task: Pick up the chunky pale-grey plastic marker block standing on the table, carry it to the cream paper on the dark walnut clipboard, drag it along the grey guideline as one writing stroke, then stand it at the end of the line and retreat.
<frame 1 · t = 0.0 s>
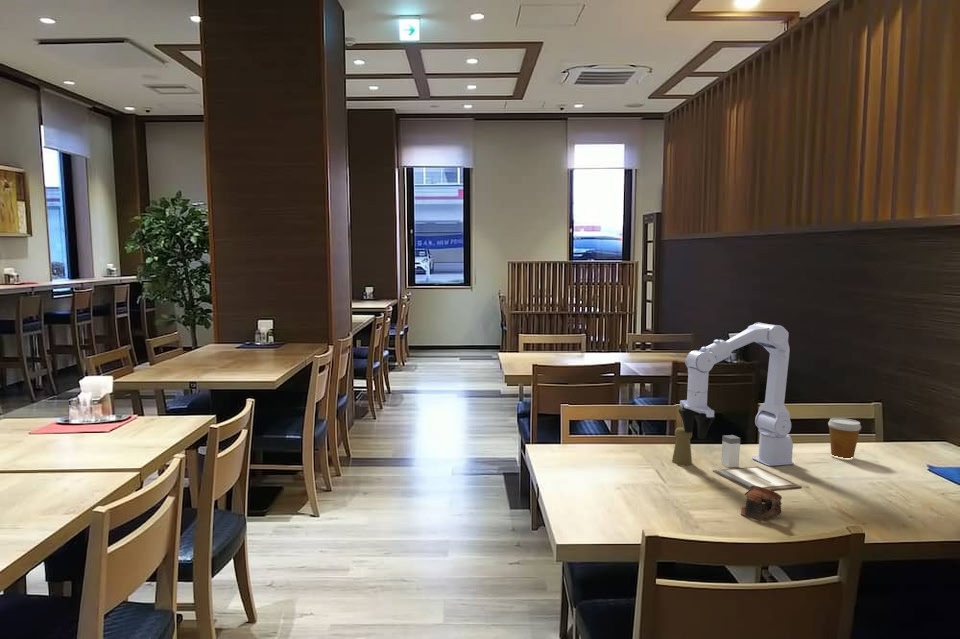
hand: (695, 435, 199), 10 cm above the table, fingers open, 6 cm apart
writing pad: (755, 479, 191), on the table
marker: (729, 465, 203), on the table
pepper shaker: (681, 463, 206), on the table, touching gripper
disposable coffee cup: (842, 457, 214), on the table
pottery mug: (762, 517, 163), on the table
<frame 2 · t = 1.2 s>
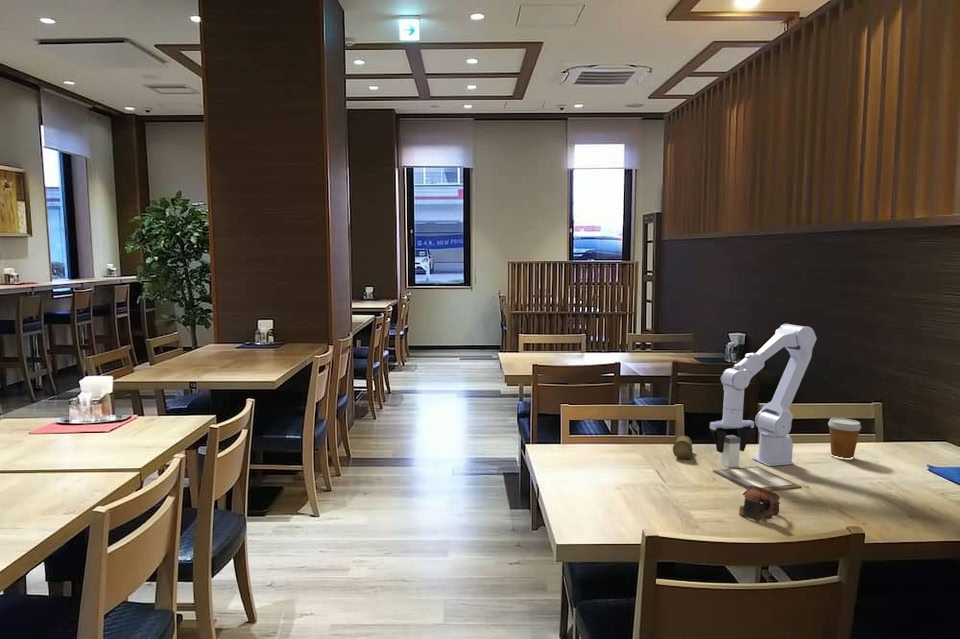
hand: (730, 451, 203), 4 cm above the table, fingers open, 7 cm apart
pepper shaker: (682, 450, 208), point 3 cm above the table
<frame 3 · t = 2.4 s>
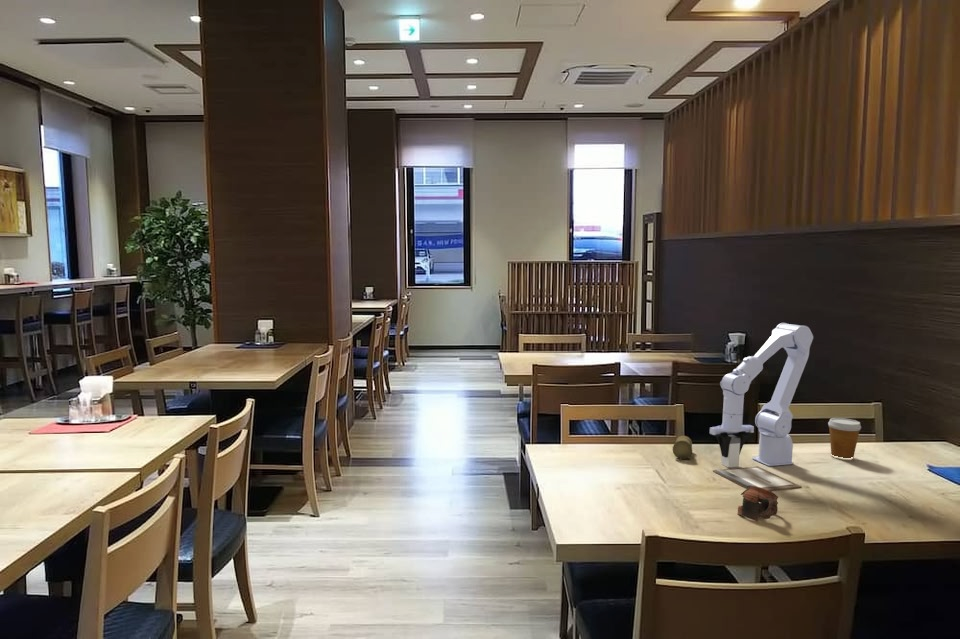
hand: (730, 456, 203), 3 cm above the table, fingers closed on marker, 4 cm apart
marker: (729, 465, 203), on the table, touching gripper
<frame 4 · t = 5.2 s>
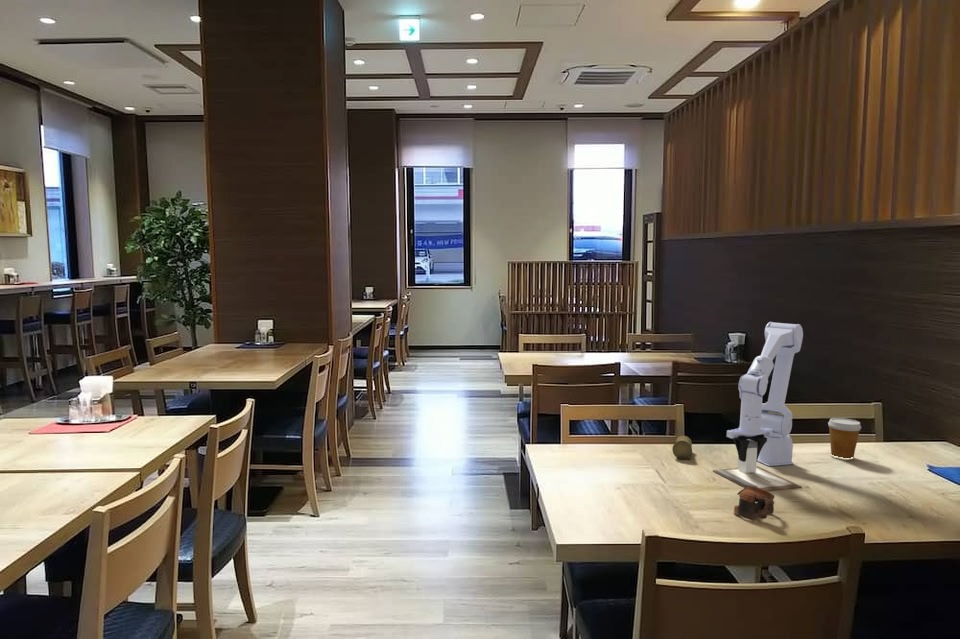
hand: (748, 460, 195), 4 cm above the table, fingers closed on marker, 4 cm apart
marker: (746, 470, 196), point 1 cm above the table, touching gripper
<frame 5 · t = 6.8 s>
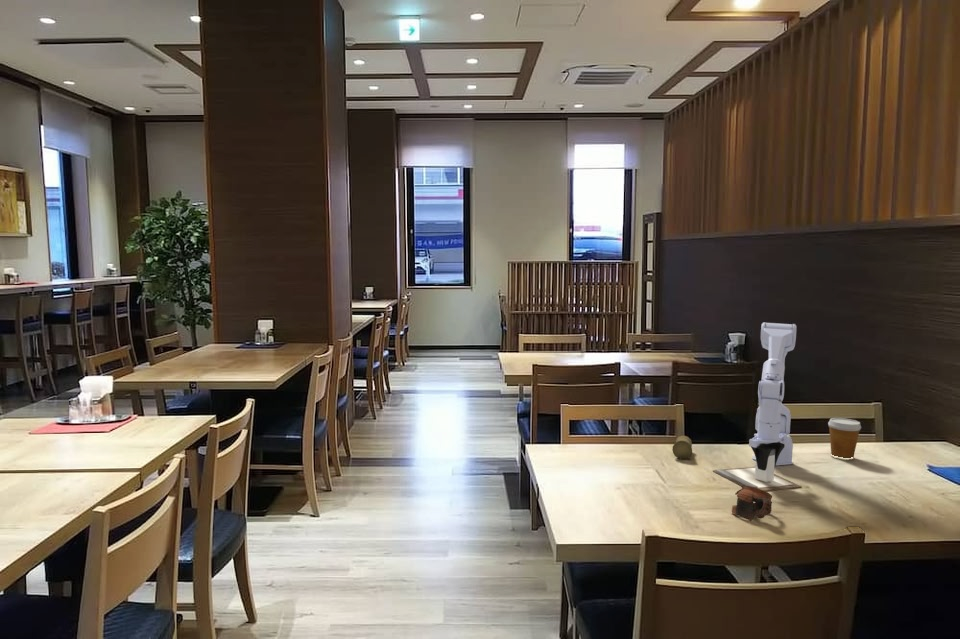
hand: (766, 468, 188), 4 cm above the table, fingers closed on marker, 4 cm apart
marker: (764, 479, 189), point 1 cm above the table, touching gripper
when the fingers open (4 cm above the table, at t = 8.3 s): marker stays where it is, resting on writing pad.
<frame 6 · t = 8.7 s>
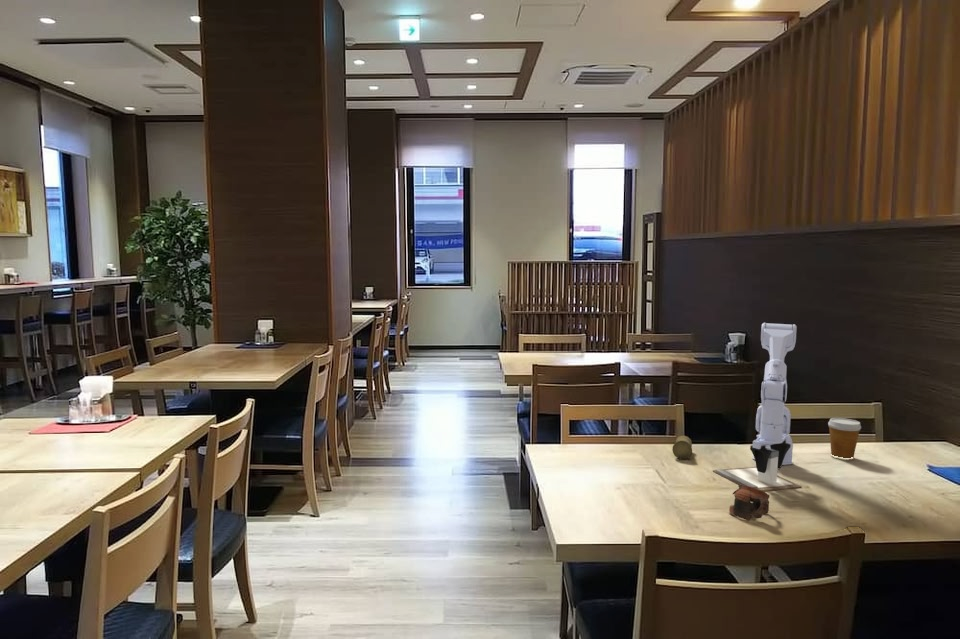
hand: (769, 469, 187), 4 cm above the table, fingers open, 7 cm apart
marker: (767, 481, 187), point 1 cm above the table, touching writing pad
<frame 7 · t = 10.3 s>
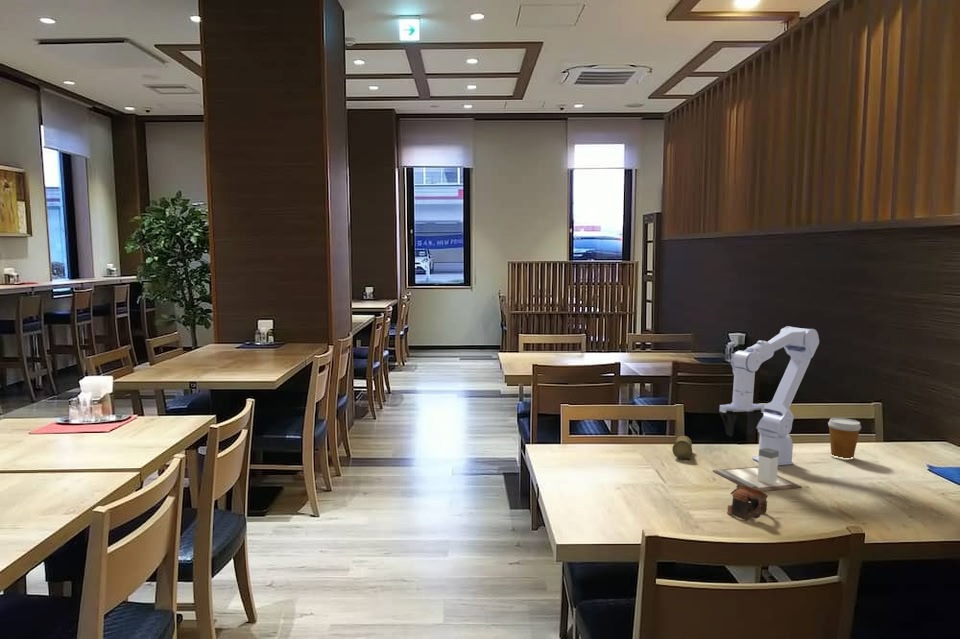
hand: (740, 435, 200), 10 cm above the table, fingers open, 7 cm apart
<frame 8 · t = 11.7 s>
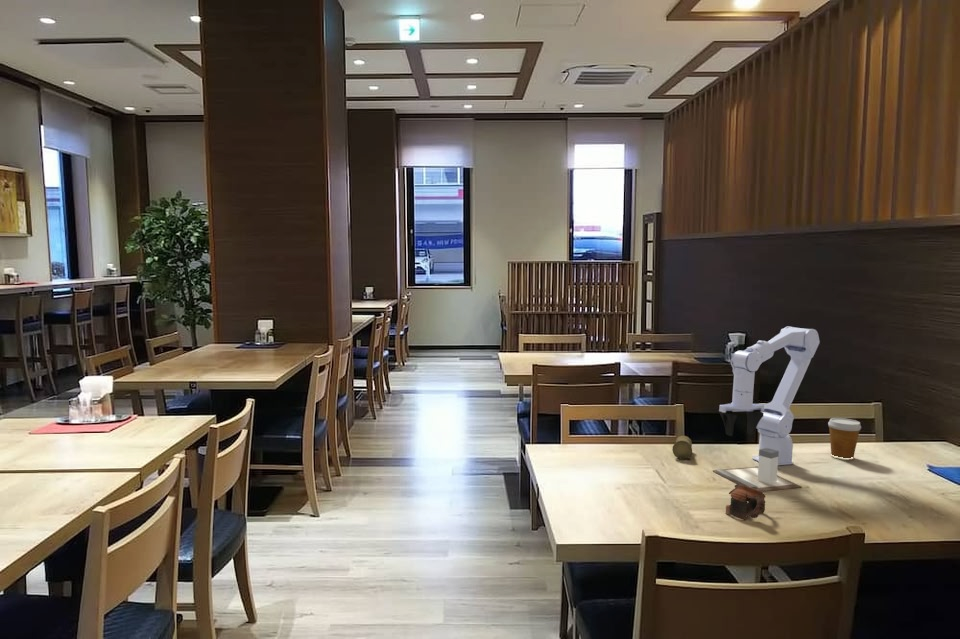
hand: (739, 434, 200), 10 cm above the table, fingers open, 7 cm apart
at the end: marker inside the target area (0.7 cm from its centre), point 0.6 cm above the table; marker tilted 0°; the gripper is holding nothing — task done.
